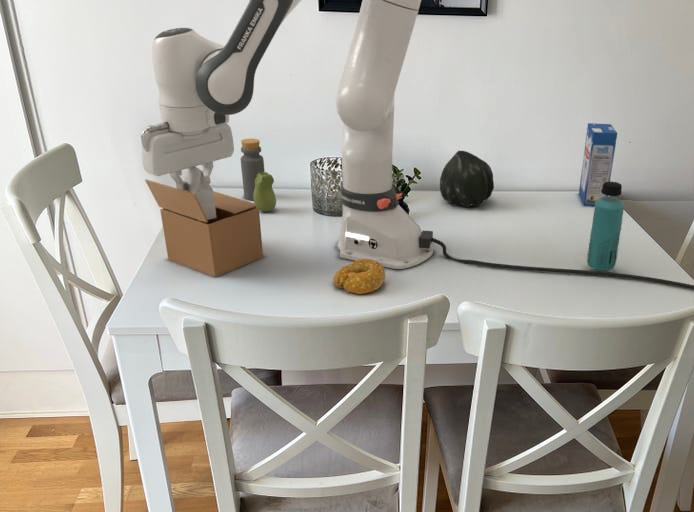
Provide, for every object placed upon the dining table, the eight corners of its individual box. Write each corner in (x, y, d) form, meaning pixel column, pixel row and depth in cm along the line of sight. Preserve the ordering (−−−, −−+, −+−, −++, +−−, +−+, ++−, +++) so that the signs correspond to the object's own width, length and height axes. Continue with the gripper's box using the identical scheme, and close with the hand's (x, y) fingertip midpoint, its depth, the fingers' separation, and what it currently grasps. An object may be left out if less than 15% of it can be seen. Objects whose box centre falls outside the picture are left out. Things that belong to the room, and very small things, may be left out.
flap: (194, 194, 145) (193, 194, 145) (208, 221, 150) (207, 222, 150) (145, 178, 152) (144, 179, 152) (160, 206, 157) (159, 206, 156)
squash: (507, 178, 205) (474, 134, 201) (498, 197, 193) (462, 150, 188) (468, 207, 212) (435, 164, 208) (457, 226, 200) (421, 182, 195)
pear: (267, 206, 195) (264, 168, 190) (281, 210, 192) (278, 172, 187) (250, 211, 191) (246, 172, 186) (265, 216, 188) (261, 177, 183)
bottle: (261, 201, 197) (256, 144, 190) (240, 199, 198) (234, 142, 191) (270, 194, 202) (265, 138, 195) (249, 192, 203) (244, 136, 196)
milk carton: (606, 207, 205) (617, 133, 194) (583, 206, 205) (593, 132, 194) (600, 195, 213) (610, 124, 203) (578, 194, 213) (587, 123, 203)
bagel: (336, 274, 160) (335, 253, 157) (388, 277, 160) (388, 256, 157) (329, 294, 151) (328, 272, 149) (383, 297, 151) (383, 275, 149)
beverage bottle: (608, 279, 163) (622, 190, 153) (580, 272, 166) (592, 183, 156) (618, 269, 168) (633, 182, 158) (591, 262, 171) (604, 176, 160)
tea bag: (199, 221, 152) (192, 173, 146) (186, 211, 156) (179, 163, 151) (216, 217, 154) (210, 170, 148) (203, 207, 158) (197, 161, 153)
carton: (263, 256, 166) (258, 204, 160) (215, 277, 156) (207, 222, 150) (217, 241, 173) (210, 190, 167) (168, 259, 163) (159, 206, 157)
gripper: (150, 130, 137) (162, 203, 144) (235, 112, 152) (241, 179, 159) (129, 124, 140) (141, 196, 147) (213, 107, 155) (221, 173, 162)
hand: (194, 187), depth 153 cm, fingers closed on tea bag, 4 cm apart
